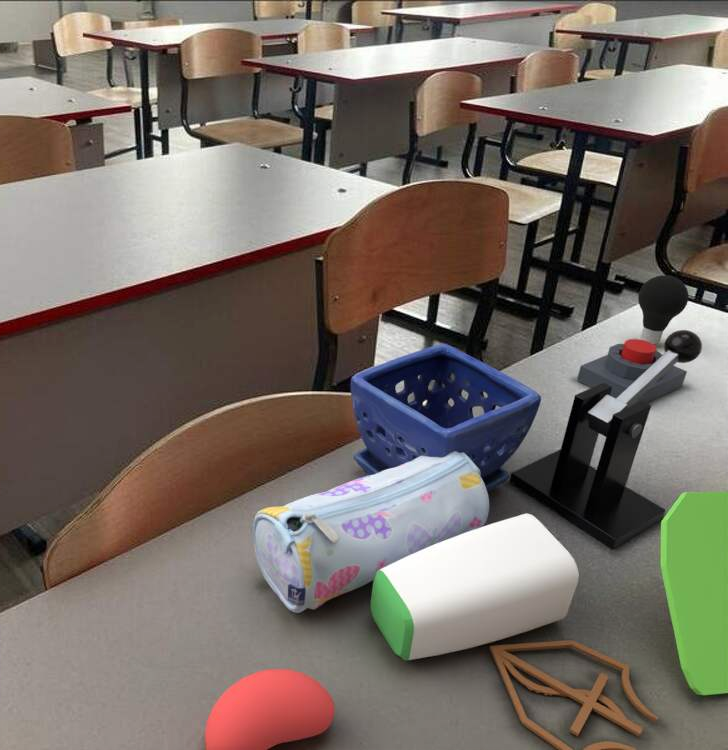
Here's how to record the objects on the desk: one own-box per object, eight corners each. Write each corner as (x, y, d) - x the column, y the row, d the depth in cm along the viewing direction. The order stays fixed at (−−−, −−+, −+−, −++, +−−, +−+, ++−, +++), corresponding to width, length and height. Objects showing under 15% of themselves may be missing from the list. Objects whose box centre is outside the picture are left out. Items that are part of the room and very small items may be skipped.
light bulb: (680, 347, 108) (703, 279, 104) (656, 358, 106) (678, 289, 101) (640, 331, 113) (660, 265, 108) (616, 341, 110) (635, 274, 105)
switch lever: (677, 341, 80) (678, 318, 78) (708, 354, 77) (710, 331, 75) (584, 428, 77) (582, 406, 75) (613, 444, 74) (612, 422, 72)
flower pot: (428, 542, 74) (447, 436, 68) (337, 469, 84) (347, 371, 78) (523, 494, 80) (547, 394, 74) (428, 432, 90) (443, 338, 84)
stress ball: (325, 685, 52) (322, 645, 58) (191, 710, 52) (203, 668, 59) (343, 761, 52) (338, 713, 58) (209, 784, 53) (218, 735, 59)
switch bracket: (558, 457, 86) (583, 362, 80) (662, 519, 77) (699, 417, 71) (508, 482, 82) (531, 383, 76) (612, 549, 73) (647, 444, 68)
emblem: (626, 789, 53) (623, 795, 53) (671, 688, 59) (668, 694, 60) (460, 688, 59) (458, 694, 60) (517, 607, 66) (515, 613, 66)
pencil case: (291, 638, 64) (297, 549, 59) (240, 570, 70) (242, 484, 66) (487, 555, 72) (506, 471, 68) (425, 501, 79) (438, 421, 74)
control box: (624, 360, 105) (632, 333, 103) (682, 386, 99) (691, 358, 97) (576, 380, 100) (583, 352, 98) (634, 409, 95) (643, 380, 93)
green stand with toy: (802, 489, 66) (740, 500, 72) (651, 493, 63) (599, 504, 69) (852, 680, 62) (782, 676, 68) (693, 696, 59) (633, 689, 64)
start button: (632, 348, 100) (635, 336, 99) (658, 360, 98) (662, 347, 97) (614, 355, 98) (618, 343, 98) (641, 367, 96) (645, 355, 95)
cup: (366, 551, 63) (525, 504, 66) (359, 611, 67) (509, 563, 71) (414, 623, 57) (584, 567, 61) (403, 684, 61) (563, 627, 65)
